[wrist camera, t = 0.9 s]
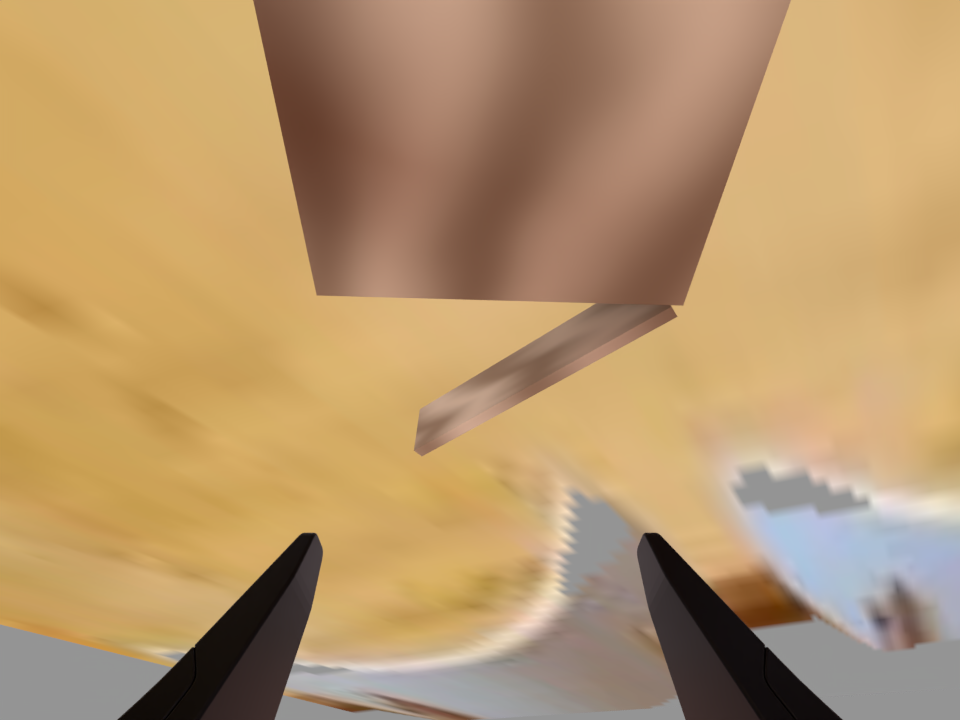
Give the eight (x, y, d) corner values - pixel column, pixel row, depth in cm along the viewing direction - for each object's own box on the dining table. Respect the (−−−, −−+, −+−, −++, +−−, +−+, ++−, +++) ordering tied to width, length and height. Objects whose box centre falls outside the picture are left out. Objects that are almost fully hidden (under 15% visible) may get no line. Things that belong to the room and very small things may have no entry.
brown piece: (341, 249, 21) (316, 295, 18) (276, -141, 13) (214, -180, 10) (653, 258, 21) (683, 305, 18) (761, -120, 14) (844, -151, 11)
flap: (429, 417, 27) (424, 458, 24) (419, 409, 26) (413, 450, 24) (657, 283, 21) (679, 320, 19) (650, 270, 21) (671, 306, 19)
